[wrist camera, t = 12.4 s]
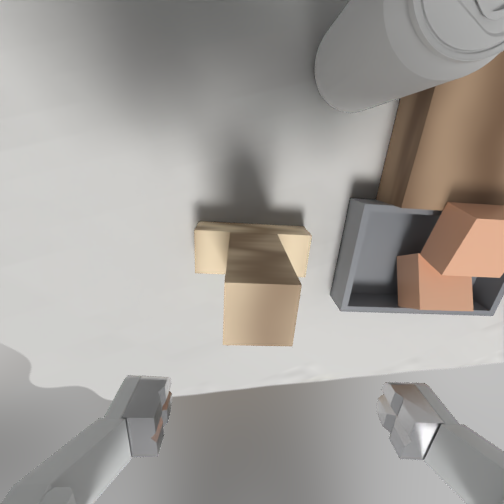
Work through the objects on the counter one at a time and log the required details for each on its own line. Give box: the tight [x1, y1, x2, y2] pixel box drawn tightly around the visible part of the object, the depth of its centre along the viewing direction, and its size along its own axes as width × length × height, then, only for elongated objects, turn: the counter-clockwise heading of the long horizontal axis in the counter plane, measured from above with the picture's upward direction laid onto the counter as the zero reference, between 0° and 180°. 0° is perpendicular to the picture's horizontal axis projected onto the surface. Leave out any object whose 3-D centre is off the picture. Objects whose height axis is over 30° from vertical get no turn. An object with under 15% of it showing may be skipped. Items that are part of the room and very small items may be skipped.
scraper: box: [194, 221, 312, 346], centre depth 19 cm, size 10×4×12 cm, turn 86°
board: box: [376, 51, 504, 211], centre depth 20 cm, size 11×12×4 cm
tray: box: [330, 198, 504, 316], centre depth 25 cm, size 16×10×3 cm, turn 86°
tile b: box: [420, 202, 504, 278], centre depth 20 cm, size 5×5×3 cm
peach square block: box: [397, 253, 474, 311], centre depth 24 cm, size 5×5×3 cm
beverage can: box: [315, 0, 504, 113], centre depth 14 cm, size 6×6×12 cm
